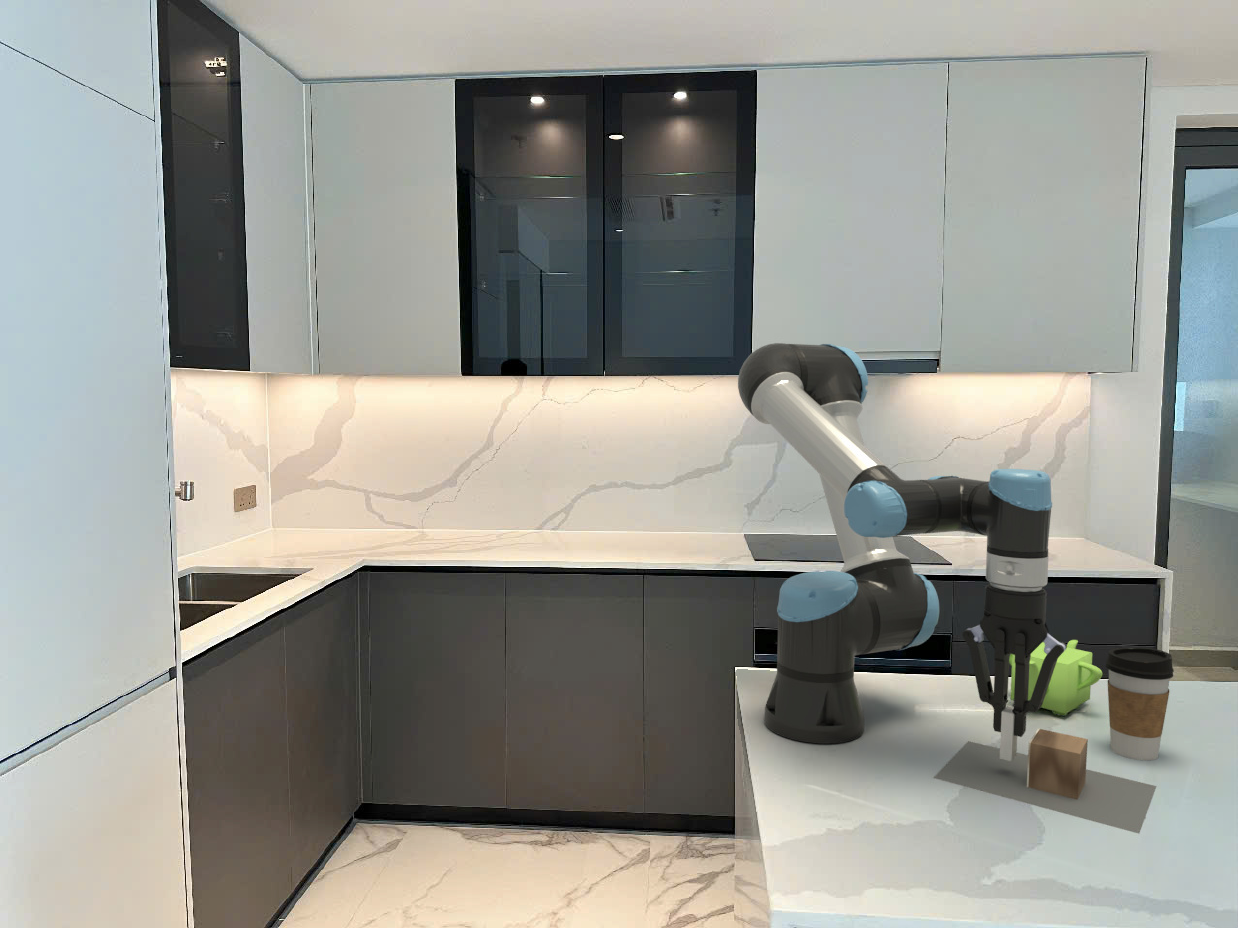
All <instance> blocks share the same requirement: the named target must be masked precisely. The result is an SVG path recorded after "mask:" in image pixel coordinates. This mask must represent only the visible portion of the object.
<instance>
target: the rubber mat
mask: <svg viewBox="0 0 1238 928" xmlns="http://www.w3.org/2000/svg"><path fill="white" fill-rule="evenodd" d="M1027 771H1028V754H1024V753H1019V752H1017V754H1016V756H1015V757H1014V759H1013V760H1012V761H1008V760H1004V759H1000V747H999V748H998V747H996V746H991V745H987V744H983V743H979V742H974V741H970V740H968V741H966V743H965V744H963V746H962V747H961V748H960V749H959V750H958V751H957V752H956V753H955V754H954V756H952V758H951V759H950V760H948V762H946V764H945V765H944V766H943V767H942V768H941V769H940V770H939V771H938V772H937V773H936V774H935V775H934V776H933V779H936V780H940V781H943V782H947V783H951V784H955V785H958V786H962V787H965V788H969V789H973V790H976V791H980V792H983V793H988V794H991V795H995V796H1000V797H1002V798H1006V799H1010V800H1013V801H1018V802H1021V803H1025V804H1027V805H1028V804H1029V805H1031V806H1035V807H1039V808H1042V809H1043V808H1044V809H1047V810H1051V811H1054V812H1057V813H1062V814H1064V815H1069V816H1072V817H1077V818H1079V819H1083V820H1087V821H1091V822H1095V823H1098V824H1102V825H1106V826H1110V827H1113V828H1115V829H1116V828H1117V829H1120V830H1125V831H1128V832H1131V833H1135V834H1139V835H1140V833H1141V830H1142V827H1143V824H1144V822H1145V819H1146V816H1147V814H1148V811H1149V808H1150V806H1151V803H1152V799H1153V798H1154V795H1155V792H1156V789H1157V785H1154V784H1149V783H1145V782H1141V781H1138V780H1137V781H1136V780H1132V779H1128V778H1124V777H1120V776H1116V775H1111V774H1108V773H1103V772H1100V771H1099V772H1098V771H1095V770H1091V769H1087V768H1086V779H1085V785H1084V787H1083V789H1082V791H1081V793H1080V796H1079V798H1078V800H1077V799H1073V798H1069V797H1065V796H1061V795H1057V794H1053V793H1049V792H1045V791H1041V790H1037V789H1033V788H1029V787H1027Z"/></svg>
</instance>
